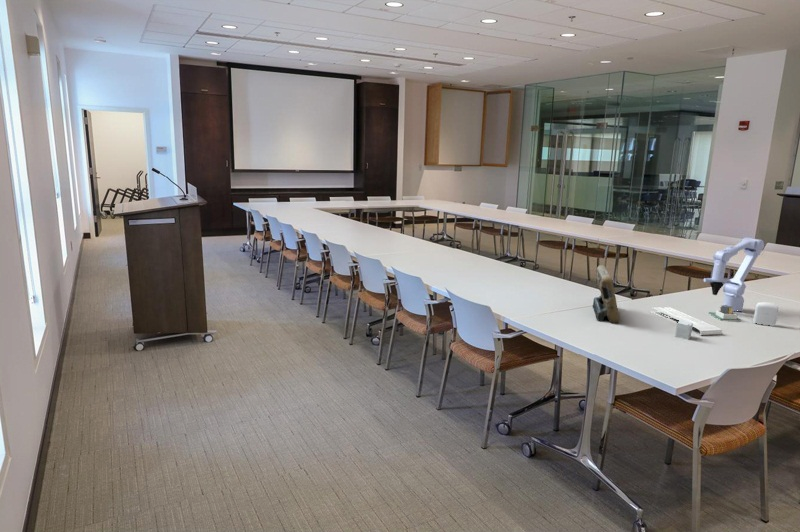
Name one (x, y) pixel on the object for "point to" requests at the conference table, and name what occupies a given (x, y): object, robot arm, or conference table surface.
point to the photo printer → (766, 313)
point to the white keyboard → (688, 320)
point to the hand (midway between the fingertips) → (714, 294)
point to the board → (724, 315)
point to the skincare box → (684, 329)
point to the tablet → (605, 297)
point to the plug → (726, 309)
